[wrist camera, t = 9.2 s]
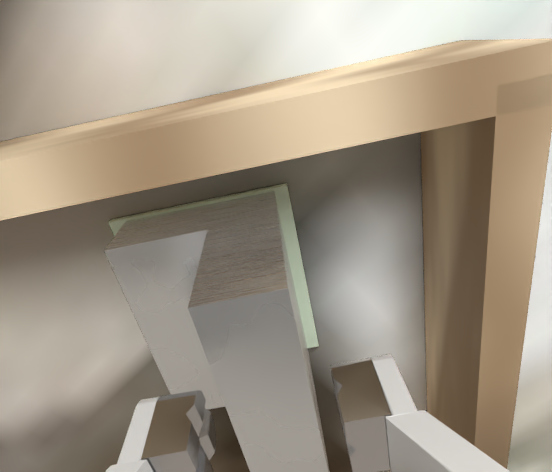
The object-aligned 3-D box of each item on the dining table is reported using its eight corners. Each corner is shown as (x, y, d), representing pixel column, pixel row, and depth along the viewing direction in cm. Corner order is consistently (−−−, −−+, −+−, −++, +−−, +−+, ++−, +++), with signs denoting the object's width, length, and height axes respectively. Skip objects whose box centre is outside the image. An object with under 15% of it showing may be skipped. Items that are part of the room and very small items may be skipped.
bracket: (125, 221, 12) (41, 335, 8) (274, 190, 12) (287, 288, 7) (188, 372, 16) (158, 522, 11) (308, 350, 15) (333, 492, 10)
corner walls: (460, 40, 11) (563, 38, 7) (452, 408, 18) (502, 499, 14) (-90, 161, 11) (-246, 214, 8) (112, 468, 18) (78, 570, 15)
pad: (286, 183, 12) (287, 185, 12) (318, 343, 16) (318, 346, 15) (110, 220, 13) (108, 222, 12) (176, 369, 16) (175, 373, 16)
